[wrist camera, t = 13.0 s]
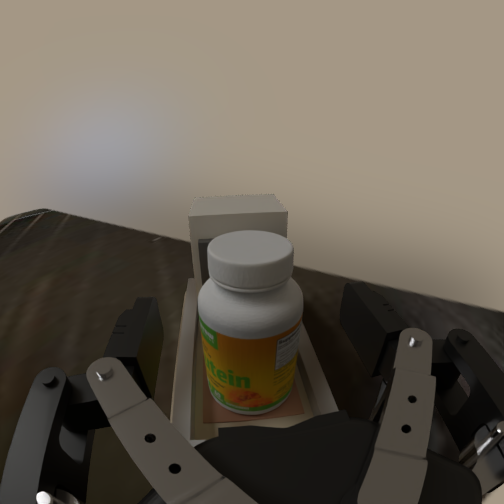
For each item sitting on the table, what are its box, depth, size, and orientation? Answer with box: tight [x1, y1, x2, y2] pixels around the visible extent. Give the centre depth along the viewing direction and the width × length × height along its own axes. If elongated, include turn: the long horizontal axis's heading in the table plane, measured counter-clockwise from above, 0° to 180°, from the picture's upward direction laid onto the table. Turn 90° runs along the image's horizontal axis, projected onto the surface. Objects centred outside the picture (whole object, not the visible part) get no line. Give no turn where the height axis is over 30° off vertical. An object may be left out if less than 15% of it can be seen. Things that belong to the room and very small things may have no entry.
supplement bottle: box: [198, 230, 303, 415], centre depth 15 cm, size 5×5×10 cm
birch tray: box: [170, 278, 339, 447], centre depth 20 cm, size 10×18×3 cm, turn 7°
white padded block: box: [188, 194, 288, 301], centre depth 21 cm, size 6×5×10 cm
